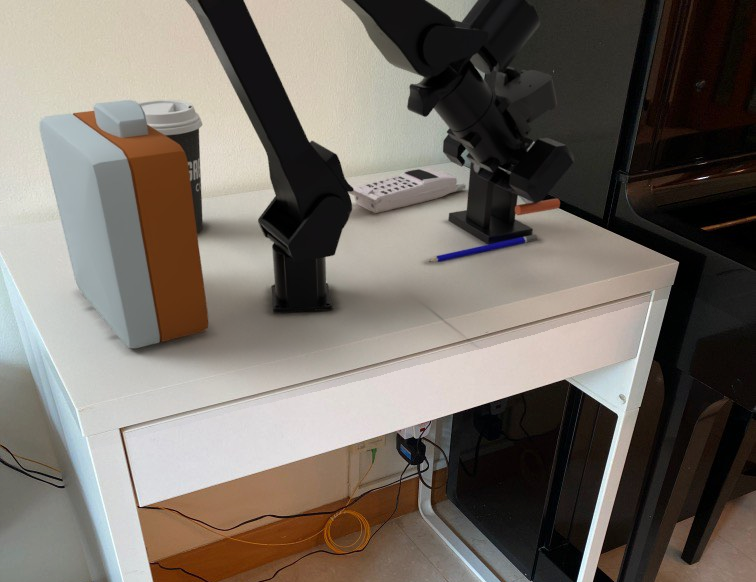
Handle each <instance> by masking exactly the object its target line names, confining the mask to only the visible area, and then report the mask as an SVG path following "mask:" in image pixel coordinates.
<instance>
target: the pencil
mask: <svg viewBox="0 0 756 582" xmlns="http://www.w3.org/2000/svg"><path fill="white" fill-rule="evenodd" d="M537 240H538V235H536V234H532V235H530V236H525V237H521V238H516V239H512V240H507V241H503V242H498V243H493V244H489V245H488V244H485V245H481V246H475V247H471V248H466V249H461V250H457V251H453V252H448V253H444V254H443V253H442V254H438V255H434V257H433V258H431V259H430V260H429V261H428V262H429V263H439V262H444V261H448V260H452V259H457V258H462V257H466V256H471V255H476V254H480V253H484V252H490V251H494V250H498V249H503V248H507V247H512V246H517V245H521V244H526V243H530V242H533V241H537Z"/></svg>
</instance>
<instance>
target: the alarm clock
mask: <svg viewBox="0 0 756 582" xmlns="http://www.w3.org/2000/svg"><path fill="white" fill-rule="evenodd" d="M39 133H40V138H41V142H42V146H43V151H44V155H45V159H46V164H47V168H48V172H49V176H50V180H51V185H52V189H53V193H54V197H55V201H56V206H57V209H58V214H59V218H60V222H61V227H62V231H63V235H64V239H65V244H66V247H67V253H68V256H69V261H70V265H71V269H72V272H73V277H74V280H75V281H74V282H75V284H76V286H77V288H78V290H79V291H80V292H81V294H82V295H83V297H85V299H86V300H87V301H88V302H89V303H90V305H91V306H92V307H93V308H94V309H95V311H97V313H98V314H99V315H100V317H101V318H102V319H103V320H104V321H105V323H106V324H107V325H108V326H109V327H110V329H111V330H112V331H113V333H115V334H116V336H117V338H119V339H120V340H121V342H122V343H123V344H124V345H125V346H126V348H130V349H139V348H144V347H146V346H147V347H148V346H151V345H154V344H160V343H162V342H163V343H164V342H166V341H171V340H175V339H179V338H182V337H186V336H190V335H191V336H192V335H194V334H199V333H203V332H205V331H206V330H207V329H209V314H208V313H209V312H208V305H207V298H206V290H205V283H204V282H205V281H204V275H203V267H202V259H201V253H200V244H199V239H198V234H197V229H196V221H195V213H194V205H193V198H192V190H191V183H190V175H189V168H188V161H187V158H186V155H185V152H184V150H183V149H182V147H181V146H180V144H178V143H176V142H175V141H173V140H172V139H170V138H168V137H167V136H165V135H164V134H162V133H160V132H159V131H157V130H155V129H154V128H152V127H151V126H149V125H147V121H146V116H145V112H144V110H143V108H142V107H141V106H140V105H139V104H138V102H137V101H136V100H132V99H126V100H125V99H124V100H123V99H122V100H114V101H106V102H96V103H94V105H93V110H88V111H80V112H79V111H78V112H73V113H70V112H69V113H61V114H53V115H46V116H44V117H43V118H41V119H40V121H39Z"/></svg>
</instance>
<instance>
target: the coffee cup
mask: <svg viewBox="0 0 756 582" xmlns="http://www.w3.org/2000/svg"><path fill="white" fill-rule="evenodd" d="M137 103H138V104H139V105H140V106H141V107H142V108H143V110H144V112H145V116H146V121H147V125H149V126H151V127H152V128H154V129H155V130H157V131H159V132H160V133H162V134H164V135H165V136H167V137H168V138H170V139H172V140H173V141H175V142H176V143H178V144H180V146H181V147H182V149H183V150H184V152H185V155H186V158H187V161H188V168H189V175H190V183H191V190H192V198H193V205H194V213H195V221H196V229H197V235H198V234H199V233H201V232H202V231H203V229H204V222H203V199H202V198H203V197H202V177H201V176H202V175H201V174H202V173H201V172H202V171H201V149H200V129H201V128H202V126H203V122H202V119H201V117H200V115H199V113H198V112H196V110H195V107H194V106H195V105H194V104H192V102H188V101H185V100H180V99H152V100H151V99H150V100H144V101H138V102H137Z"/></svg>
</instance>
